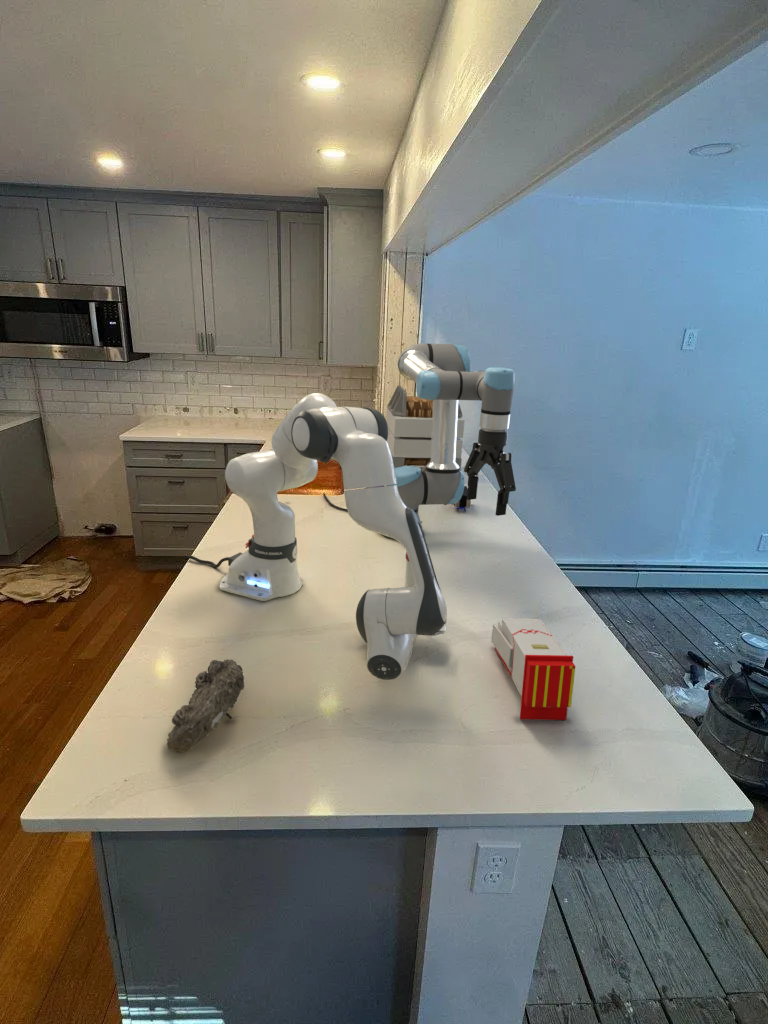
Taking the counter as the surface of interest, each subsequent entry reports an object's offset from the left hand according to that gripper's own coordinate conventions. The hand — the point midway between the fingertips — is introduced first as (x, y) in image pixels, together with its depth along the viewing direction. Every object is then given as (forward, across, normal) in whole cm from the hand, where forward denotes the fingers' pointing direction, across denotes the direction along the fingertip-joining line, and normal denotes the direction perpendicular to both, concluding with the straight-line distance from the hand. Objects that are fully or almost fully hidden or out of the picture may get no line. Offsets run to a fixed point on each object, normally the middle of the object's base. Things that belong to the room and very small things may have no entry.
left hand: (408, 599), depth 141 cm
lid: (+10, 0, -8) cm, 13 cm away
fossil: (-44, +30, +7) cm, 54 cm away
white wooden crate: (+139, +18, +7) cm, 140 cm away
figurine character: (+94, -5, +7) cm, 95 cm away
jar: (+10, 0, +7) cm, 12 cm away
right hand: (+24, -16, -18) cm, 34 cm away
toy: (-15, -29, +7) cm, 33 cm away
